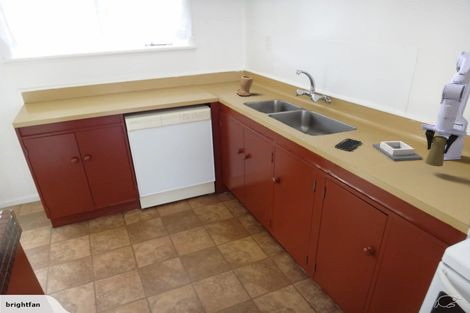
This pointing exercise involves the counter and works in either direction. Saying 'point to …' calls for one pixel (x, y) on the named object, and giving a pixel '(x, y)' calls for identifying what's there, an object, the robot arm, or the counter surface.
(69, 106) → the counter surface
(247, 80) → the stone cup
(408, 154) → the socket dock
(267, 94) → the counter surface
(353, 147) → the phone
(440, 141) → the cork
